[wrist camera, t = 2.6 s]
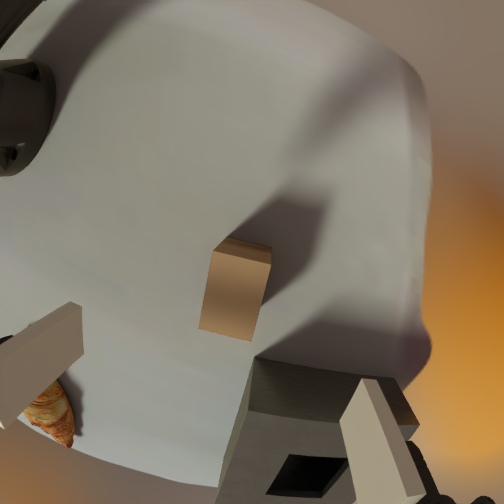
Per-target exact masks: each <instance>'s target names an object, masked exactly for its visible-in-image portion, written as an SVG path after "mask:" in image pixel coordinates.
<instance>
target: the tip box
mask: <svg viewBox="0 0 504 504" xmlns="http://www.w3.org/2000/svg"><path fill="white" fill-rule="evenodd" d="M362 378H364V379H373V380H377V382H378V384H379V386H380V388H381V391H382V393H383V395H384V397H385V399H386V401H387V403H388V405H389V407H390V410H391V412H392V414H393V416H394V418H395V420H396V423H397V425H398V427H399V429H400V431H401V434H402V436H403V438H404V440H405V441H408V440H409V439H410V438H411V436H412V435H413V433H414V432H415V431H416V429H417V428H418V427H419V425H420V424H419V422H418V420H417V418H416V416H415V415H414V413H413V411H412V409H411V407H410V406H409V404H408V402H407V400H406V398H405V396H404V395H403V393H402V391H401V389H400V387H399V386H398V384H397V382H396V380H395V379H394V378H384V377H374V376H365V375H357V374H349V373H342V372H334V371H328V370H321V369H315V368H309V367H303V366H297V365H292V364H287V363H281V362H276V361H271V360H267V359H262V358H257V357H254V360H253V363H252V366H251V370H250V373H249V377H248V380H247V384H246V387H245V390H244V394H243V397H242V401H241V404H240V407H239V410H238V414H237V417H236V420H235V424H234V427H233V430H232V433H231V437H230V440H229V443H228V446H227V449H226V452H225V455H224V459H223V464H222V469H221V474H220V480H219V485H218V490H217V495H216V500H215V504H352V503H353V502H354V501H355V500H357V499H356V494H355V489H354V484H353V479H352V474H351V470H350V465H349V461H348V456H347V452H346V447H345V443H344V439H343V434H342V430H341V426H340V422H339V421H340V419H341V417H342V415H343V413H344V412H345V410H346V408H347V406H348V404H349V402H350V401H351V399H352V397H353V395H354V393H355V391H356V389H357V387H358V385H359V383H360V381H361V379H362Z"/></svg>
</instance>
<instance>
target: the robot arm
mask: <svg viewBox="0 0 504 504" xmlns="http://www.w3.org/2000/svg"><path fill="white" fill-rule="evenodd" d="M43 1H46V0H0V49H1V48H2V46H3V45H4V44H5V43H6V41H7V40H8V39H9V38H10V36H11V35H12V34H13V33H14V32H15V30H16V29H17V28H18V27H19V26H20V25H21V24H22V23H23V21H24V20H25V19H26V18H27V17H28V16H29V15H30V14H31V13H32V12H33V11H34V10H35V9H36V8H37V7H38V6H39V5H40V4H41V3H42V2H43ZM55 90H56V89H55V80H54V76H53V73H52V71H51V70H50V68H49V67H48V66H47V65H45V64H43V63H41V62H39V61H36V60H34V59H12V60H0V177H2V176H13V175H15V174H17V173H19V172H20V171H22V170H23V169H24V168H25V167H26V166H27V165H28V164H29V163H30V162H31V160H32V159H33V158H34V156H35V155H36V153H37V151H38V150H39V148H40V146H41V144H42V142H43V140H44V138H45V135H46V133H47V130H48V127H49V124H50V121H51V118H52V114H53V109H54V103H55ZM83 354H84V349H83V331H82V306H80V305H77V304H75V303H73V302H68V303H66V304H65V305H63V306H61V307H60V308H58V309H56V310H55V311H53V312H52V313H50V314H48V315H47V316H45V317H43V318H42V319H40V320H38V321H37V322H35V323H34V324H32V325H30V326H29V327H27V328H26V329H24V330H23V331H21V332H19V333H18V334H16V335H15V336H13V335H10V336H6V337H3V338H1V339H0V426H1V427H2V428H3V429H6V428H7V427H8V426H9V425H10V424H11V423H12V422H13V421H14V420H15V419H16V418H17V417H18V416H19V415H20V414H21V413H22V412H23V411H24V410H25V409H26V408H27V407H28V406H29V405H30V404H31V403H32V402H33V401H34V400H35V399H36V398H37V397H38V396H39V395H40V394H41V393H42V392H43V391H44V390H45V389H47V388H48V387H49V386H50V385H51V384H52V383H53V382H54V381H55V380H56V379H57V378H58V377H59V376H60V375H61V374H62V373H63V372H65V371H66V370H67V369H68V368H69V367H70V366H71V365H72V364H73V363H74V362H75V361H76V360H78V359H79V358H80V357H81V356H82V355H83ZM339 422H340V426H341V430H342V434H343V439H344V443H345V447H346V452H347V456H348V461H349V465H350V470H351V474H352V479H353V484H354V489H355V494H356V499H357V503H358V504H456V503H455V502H454V500H453V499H452V498H450V497H449V496H446V495H440V494H439V492H438V490H437V487H436V485H435V482H434V480H433V478H432V476H431V473H430V471H429V469H428V467H427V464H426V462H425V460H423V456H422V454H421V451H420V450H419V448H418V447H417V446H416V445H415V444H414V443H413V442H412V441H405V440H404V438H403V436H402V434H401V431H400V429H399V427H398V425H397V423H396V420H395V418H394V416H393V414H392V412H391V410H390V407H389V405H388V403H387V401H386V399H385V397H384V395H383V393H382V391H381V388H380V386H379V384H378V382H377V380H373V379H364V378H362V379H361V381H360V383H359V385H358V387H357V389H356V391H355V393H354V395H353V397H352V399H351V401H350V402H349V404H348V406H347V408H346V410H345V412H344V413H343V415H342V417H341V419H340V421H339ZM471 504H495V502H494V501H493V500H492V499H491V498H490V497H487V496H480V497H478V498H476V499H475V500H474V501H473V502H472V503H471Z"/></svg>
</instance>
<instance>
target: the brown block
mask: <svg viewBox="0 0 504 504" xmlns="http://www.w3.org/2000/svg"><path fill="white" fill-rule="evenodd" d="M271 257H272V248H271V247H267V246H263V245H259V244H254V243H250V242H246V241H242V240H237V239H233V238H229V237H226V238H225V239H224V240H223V241H222V242H221V243H220V244H219V245H218V246H217V247H216V248H215V249H214V250H213V253H212V258H211V263H210V268H209V273H208V279H207V284H206V289H205V295H204V300H203V306H202V311H201V317H200V322H199V328H198V329H202V330H206V331H210V332H213V333H217V334H221V335H225V336H229V337H233V338H238V339H242V340H246V341H250V342H251V341H252V337H253V334H254V330H255V326H256V322H257V319H258V315H259V311H260V307H261V303H262V299H263V296H264V292H265V288H266V284H267V280H268V276H269V272H270V268H271Z"/></svg>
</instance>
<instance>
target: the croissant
mask: <svg viewBox="0 0 504 504" xmlns="http://www.w3.org/2000/svg"><path fill="white" fill-rule="evenodd" d="M23 412H24V415H25V416H26V417H27V418H28V420H29V421H30V423H31V424H32V425H35V426H38V427H41V429H42V430H43V431H44V432H46V433H48V434H51V435H52V436H53V438H54V439H55V440H57V441H58V442H61V443H62V444H63V445H64V447H67V448H71V447H72V444H73V442H74V441H73V436H74V434H75V423H74V414H73V411H72V409H71V406H70V404H69V401H68V399H67V396H66V394H65V392H64V390H63V388H62V387H61V385H60V384H59V382H58V381H57V380H55V381H54V382H53V383H52V384H51V385H50V386H49V387H48V388H47V389H45V390H44V391H43V392H42V393H41V394H40V395H39V396H38V397H37V398H36V399H35V400H34V401H33V402H32V403H31V404H30V405H29V406H28V407H27V408H26V409H25V410H24V411H23Z"/></svg>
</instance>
